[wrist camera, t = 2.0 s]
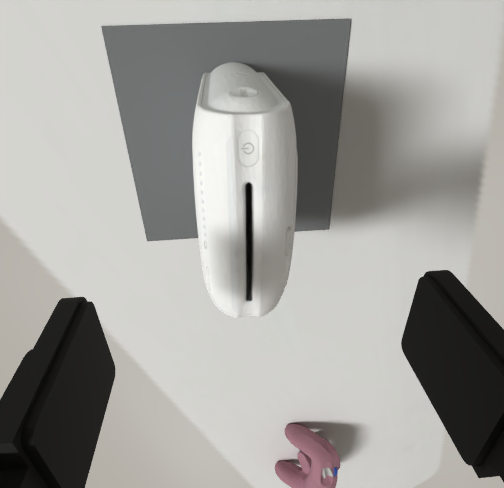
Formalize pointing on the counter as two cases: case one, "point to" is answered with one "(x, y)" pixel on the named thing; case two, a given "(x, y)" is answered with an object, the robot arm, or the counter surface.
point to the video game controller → (309, 460)
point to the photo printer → (244, 188)
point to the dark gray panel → (185, 98)
